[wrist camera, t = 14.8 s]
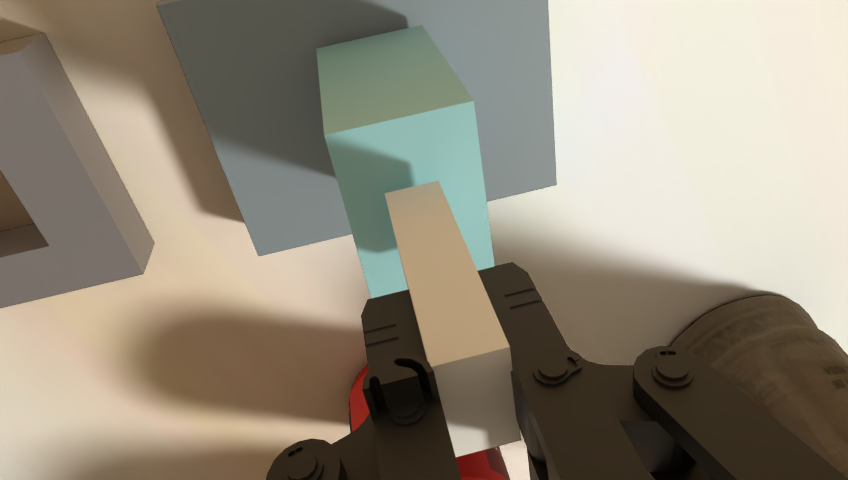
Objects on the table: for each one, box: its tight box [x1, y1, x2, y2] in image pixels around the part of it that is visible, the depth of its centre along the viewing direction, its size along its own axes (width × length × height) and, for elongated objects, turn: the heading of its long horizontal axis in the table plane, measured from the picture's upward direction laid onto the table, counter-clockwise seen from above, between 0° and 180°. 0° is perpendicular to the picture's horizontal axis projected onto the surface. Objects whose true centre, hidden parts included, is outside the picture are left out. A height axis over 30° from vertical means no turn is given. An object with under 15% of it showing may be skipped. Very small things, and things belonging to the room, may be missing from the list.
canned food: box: [348, 365, 510, 480], centre depth 33 cm, size 8×8×11 cm
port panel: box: [156, 0, 557, 256], centre depth 25 cm, size 14×11×2 cm
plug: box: [316, 25, 495, 298], centre depth 22 cm, size 4×6×11 cm, turn 10°
